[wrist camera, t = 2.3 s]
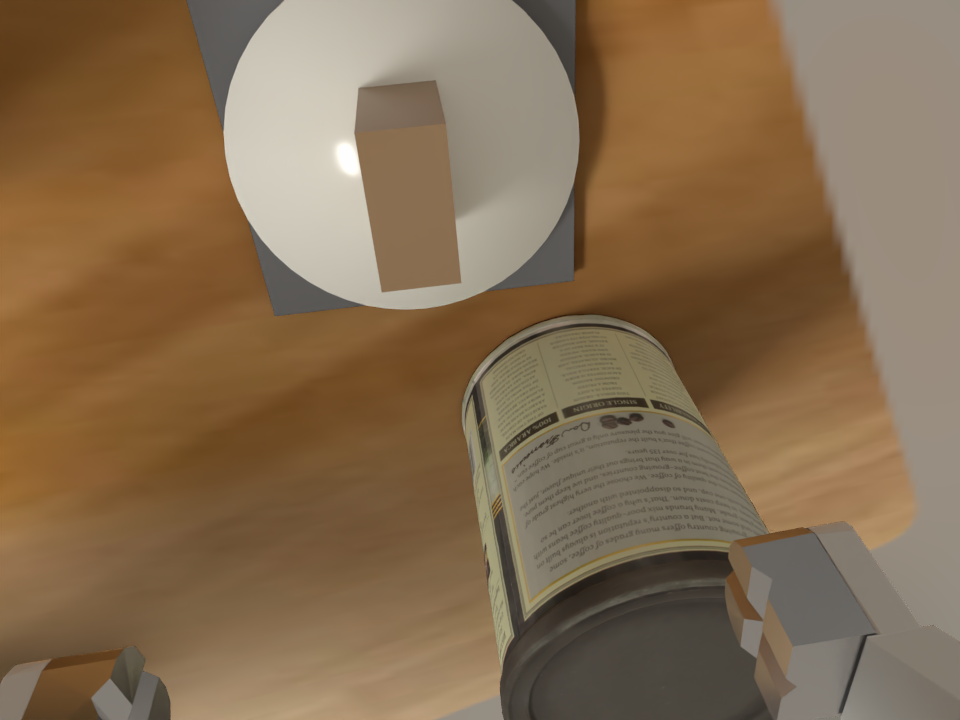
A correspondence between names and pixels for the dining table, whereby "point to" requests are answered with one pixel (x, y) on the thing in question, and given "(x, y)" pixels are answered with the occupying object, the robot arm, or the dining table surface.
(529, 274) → the mat
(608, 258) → the dining table surface
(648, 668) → the coffee can
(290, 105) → the lid
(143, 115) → the dining table surface
